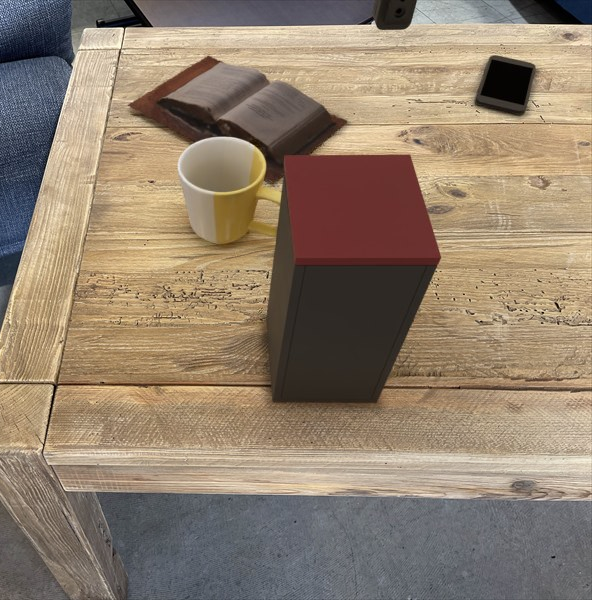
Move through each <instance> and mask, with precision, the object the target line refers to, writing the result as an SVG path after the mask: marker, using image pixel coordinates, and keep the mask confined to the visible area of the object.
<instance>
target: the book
mask: <svg viewBox="0 0 592 600" xmlns="http://www.w3.org/2000/svg"><path fill="white" fill-rule="evenodd" d="M127 107H129V108H130V109H132V110H135V111H136V112H139V113H140V114H141V115H143V116H146V117H148V118H150V119H152V120H154V121H155V122H157V123H160V124H162V125H164V126H165V127H167V128H169V129H170V130H172V131H175V132H176V133H178V134H180V135H182V136H183V137H185V138H186V139H189V140H191V141H193V142H194V143H196V142H198V141H201V140H204V139H207V138H213V137H233V138H238V139H241V140H244V141H247V142H249V143H251V141H253V140H255V141H257V142H259V143H260V144H261V146H258V147H257V148H258V149H259V150H260V152H261V153H262V154H263V156H264V158H265V161H266V172H265V177H264V179H266V180H267V181H270V182H271V183H272V184H273V183H276V182H277V181H278V179H280V178H281V177H283V175H284V174H285V172H284V156H285V155H310V154H311V152H313V151H314V150H315V149H316V148H318V147H319V146H320V145H321V144H323V143H324V142H325V141H326V140H328V138H329V137H331V136H332V135H334V134H335V133H336V132H337V130H339V129H340V128H342V126H344V125H345V124H346V123H348V121H347V120H346V119H345V118H340V117H338V116H336V115H335V114H330V113H329V111H328V110H327V108H326V107H325V105H323V104H321V103H320V102H318V101H316V100H315V99H314V98H312V97H310V96H308V95H307V94H305V92H302V91H301V90H299V89H298V88H296V87H294V86H293V85H291V84H290V83H288V82H285V81H281V80H278V79H276V80H273V81H272V82H270V80H269V79H268V78H267V76H266V74H265V73H263V72H262V71H261V72H260V71H259V70H258V69H256V68H251V67H246V66H240V65H235V64H230V63H226V62H224V61H222V60H218V59H217V58H215V57H212V56H210V55H207V56H206V57H204V58H202V59H200V60H199V61H197V62H195V63H193V64H192V65H190V66H187V68H185V69H183V70H181V71H180V72H179V73H177V74H175V75H174V76H173V77H171V78H169V79H167V80H166V81H164V82H163V83H161V84H159V85H157V86H156V87H155V88H154V89H152V90H150V91H147V92H146V93H145V94H144V95H141V97H138V98H137V99H134V100H133V101H132V102H130V103H128V104H127Z"/></svg>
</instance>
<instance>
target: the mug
mask: <svg viewBox="0 0 592 600" xmlns="http://www.w3.org/2000/svg"><path fill="white" fill-rule="evenodd" d="M258 148H259V147H257V146H256V145H254V144H252V143H251V142H250V143H249V142H247V141H244V140H241V139H238V138H233V137H213V138H207V139H204V140H201V141H198V142H194V143H192V144H190V145H189V146H188V147H186V148H185V149H184V150H183V151H182V152H181V153H180V156H179V158H178V160H177V163H176V164H177V165H176V167H177V168H176V169H177V174H178V175H177V176H178V179H179V183H180V187H181V191H182V195H183V199H184V203H185V207H186V211H187V216H188V219H189V223H190V227H191V229H192V230H193V232H194V233H195V234H196V235H197V236H198V237H200V238H201V239H203V240H205V241H206V242H209V243H211V244H217V245H224V244H230V243H233V242H235V241H237V240H239V239H241V238H243V236H245V235H246V234H247V233H248V232H249V231H250V232H252V233H255V234H259V235H263V236H267V237H272V238H276V234H277V226H273V225H270V224H267V223H264V222H261V221H258V220H255V219H254V217H255V213H256V210H257V206H258V203H259V200H265V201H270V202H272V203H275V204H277V205H278V206H279V207H280V201H281V193H282V191H280V190H277V189H273V188H270V187H267V186H265V185H264V180H265V178H264V177H265V172H266V161H265V158H264V156H263V154H262V153H261V152H260V150H259V149H258Z"/></svg>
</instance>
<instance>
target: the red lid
mask: <svg viewBox="0 0 592 600" xmlns="http://www.w3.org/2000/svg"><path fill="white" fill-rule="evenodd" d="M284 172H285V173H284V174H285V181H286V190H287V199H288V208H289V217H290V227H291V236H292V245H293V254H294V263H295V265H437V266H438V265H439V264H440V262H441V260H442V255H441V252H440V249H439V246H438V245H439V244H438V241H437V238H436V234H435V232H434V229H433V225H432V222H431V219H430V215H429V212H428V208H427V205H426V202H425V198H424V196H423V192H422V189H421V185H420V183H419V182H420V181H419V179H418V175H417V173H416V169H415V166H414V162H413V159H412V156H411V154H410V153H409V154H406V153H405V154H308V155H285V156H284Z"/></svg>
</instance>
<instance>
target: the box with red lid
mask: <svg viewBox="0 0 592 600" xmlns="http://www.w3.org/2000/svg"><path fill="white" fill-rule="evenodd" d="M282 177H283V178H282V187H281V192H282V193H281V201H280V206H279V210H278V218H277V226H276V227H277V234H276V237H275V243H274V252H273V261H272V268H271V276H270V285H269V294H268V301H267V310H266V316H265V317H266V318H265V321H266V322H265V323H266V324H265V325H266V336H267V337H266V338H267V350H268V361H269V362H268V364H269V378H270V379H269V380H270V390H271V391H270V392H271V393H270V394H271V403H303V404H304V403H306V404H307V403H309V404H310V403H314V404H315V403H316V404H317V403H318V404H319V403H320V404H321V403H322V404H323V403H326V404H328V403H330V404H332V403H333V404H335V403H336V404H378V401H379V399H380V397H381V395H382V392H383V391H384V388H385V386H386V384H387V381H388V379H389V377H390V374H391V372H392V370H393V368H394V365H395V363H396V361H397V359H398V356H399V354H400V352H401V350H402V348H403V345H404V343H405V340H406V338H407V337H408V334H409V331H410V329H411V328H412V327H411V326H413V322H414V320H415V318H416V316H417V313H418V312H419V309H420V307H421V304H422V302H423V300H424V297H425V296H426V293H427V291H428V288H429V287H430V284H431V282H432V280H433V277H434V275H435V273H436V270H437V268H438V265H295V263H294V254H293V245H292V236H291V227H290V217H289V208H288V199H287V190H286V181H285V173H284V174H283V176H282Z"/></svg>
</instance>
